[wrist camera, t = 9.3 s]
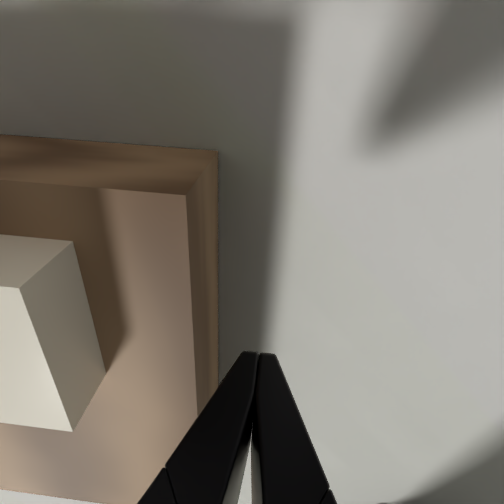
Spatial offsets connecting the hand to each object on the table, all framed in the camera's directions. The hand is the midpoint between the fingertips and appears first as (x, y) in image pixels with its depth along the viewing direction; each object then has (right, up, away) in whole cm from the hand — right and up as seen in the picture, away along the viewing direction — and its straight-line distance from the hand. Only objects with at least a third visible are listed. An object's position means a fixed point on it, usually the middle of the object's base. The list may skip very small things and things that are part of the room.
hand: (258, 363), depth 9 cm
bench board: (-8, 0, +7) cm, 10 cm away
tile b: (-7, +1, +1) cm, 8 cm away
